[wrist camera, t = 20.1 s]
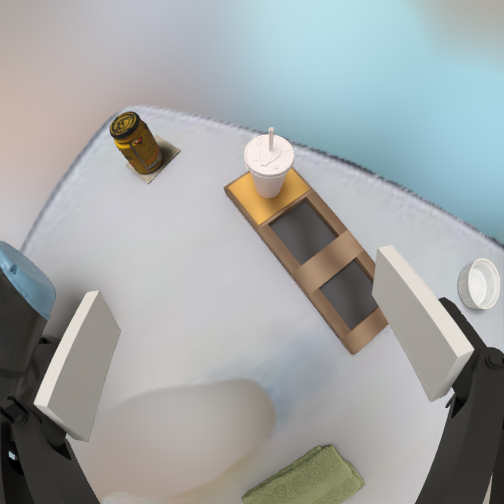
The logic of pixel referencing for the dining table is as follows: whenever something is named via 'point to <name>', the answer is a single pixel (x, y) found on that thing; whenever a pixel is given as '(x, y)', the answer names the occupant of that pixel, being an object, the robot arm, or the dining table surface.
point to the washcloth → (309, 481)
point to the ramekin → (479, 284)
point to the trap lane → (315, 254)
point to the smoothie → (269, 162)
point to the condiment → (141, 146)
